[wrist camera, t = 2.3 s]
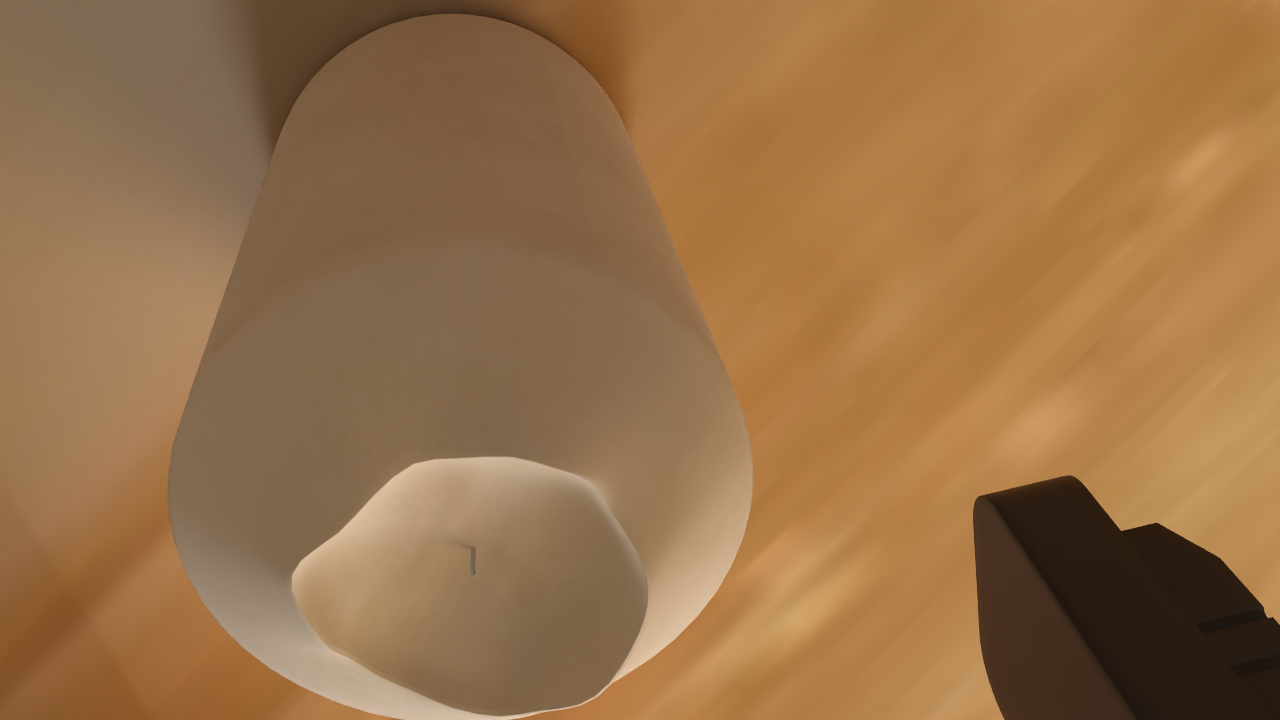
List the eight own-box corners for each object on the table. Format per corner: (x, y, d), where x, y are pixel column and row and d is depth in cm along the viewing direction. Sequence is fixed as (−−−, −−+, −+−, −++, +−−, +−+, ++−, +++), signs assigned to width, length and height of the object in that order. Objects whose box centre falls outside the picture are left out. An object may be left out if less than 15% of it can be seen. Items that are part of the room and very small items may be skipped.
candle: (224, 268, 19) (47, 756, 10) (357, -61, 17) (273, 213, 8) (541, 387, 21) (613, 886, 12) (696, 105, 19) (912, 466, 10)
